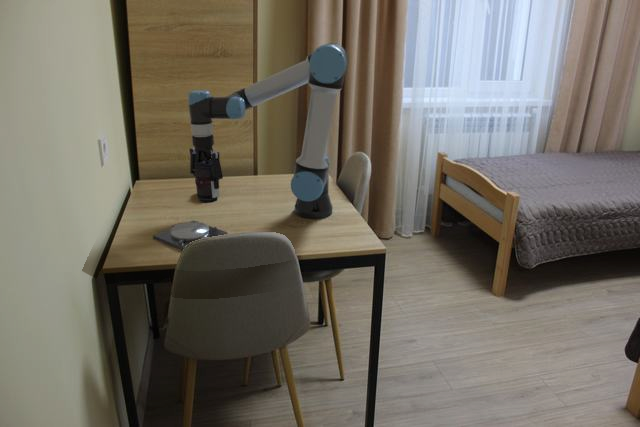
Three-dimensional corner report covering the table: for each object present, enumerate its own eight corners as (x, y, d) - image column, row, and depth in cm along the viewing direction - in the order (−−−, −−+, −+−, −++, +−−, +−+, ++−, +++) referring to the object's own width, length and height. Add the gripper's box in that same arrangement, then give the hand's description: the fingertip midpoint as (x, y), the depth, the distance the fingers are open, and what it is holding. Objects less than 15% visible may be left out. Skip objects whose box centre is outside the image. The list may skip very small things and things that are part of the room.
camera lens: (212, 205, 189) (208, 165, 183) (193, 202, 191) (189, 163, 186) (223, 198, 196) (220, 160, 190) (205, 196, 198) (201, 158, 193)
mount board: (227, 235, 181) (227, 227, 180) (186, 252, 167) (186, 244, 166) (193, 223, 191) (192, 215, 190) (152, 238, 178) (151, 230, 177)
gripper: (230, 136, 182) (234, 197, 190) (192, 129, 193) (197, 187, 201) (214, 140, 176) (219, 202, 184) (175, 133, 188) (182, 192, 196)
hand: (208, 194), depth 193 cm, fingers closed on camera lens, 8 cm apart
